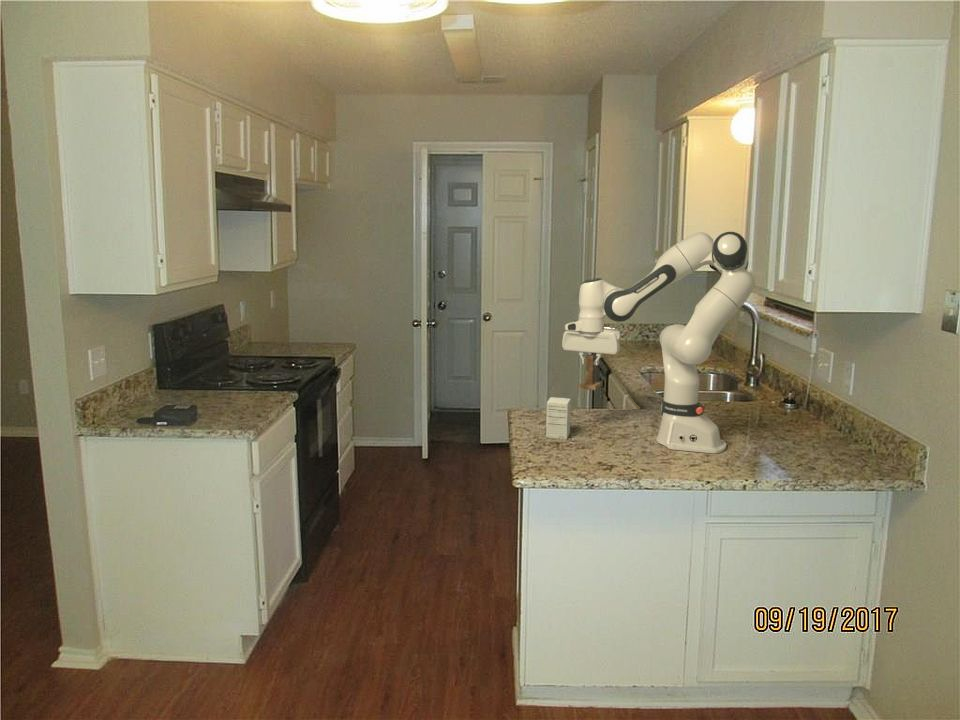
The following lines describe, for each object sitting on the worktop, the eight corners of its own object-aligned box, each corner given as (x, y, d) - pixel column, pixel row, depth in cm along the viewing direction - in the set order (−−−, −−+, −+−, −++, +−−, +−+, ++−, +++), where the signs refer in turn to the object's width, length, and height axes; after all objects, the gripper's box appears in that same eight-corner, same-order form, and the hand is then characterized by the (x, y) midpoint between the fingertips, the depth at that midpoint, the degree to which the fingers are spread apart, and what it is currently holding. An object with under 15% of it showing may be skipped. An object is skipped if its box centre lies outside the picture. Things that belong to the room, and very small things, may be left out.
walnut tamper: (600, 386, 264) (601, 354, 262) (595, 390, 259) (595, 357, 257) (584, 385, 267) (585, 353, 264) (578, 388, 262) (579, 356, 259)
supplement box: (549, 431, 262) (550, 396, 259) (570, 433, 260) (571, 398, 257) (545, 437, 255) (546, 401, 252) (566, 439, 253) (568, 403, 250)
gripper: (623, 326, 256) (622, 365, 259) (567, 322, 266) (566, 360, 269) (617, 328, 251) (616, 369, 254) (560, 324, 260) (560, 363, 263)
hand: (590, 364), depth 261 cm, fingers closed on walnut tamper, 2 cm apart
